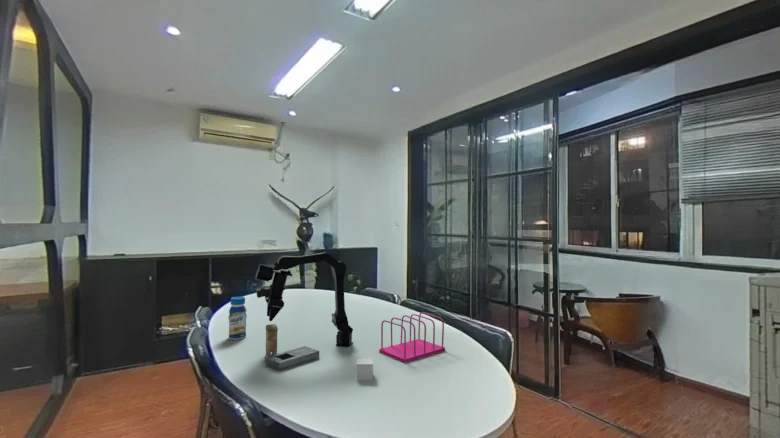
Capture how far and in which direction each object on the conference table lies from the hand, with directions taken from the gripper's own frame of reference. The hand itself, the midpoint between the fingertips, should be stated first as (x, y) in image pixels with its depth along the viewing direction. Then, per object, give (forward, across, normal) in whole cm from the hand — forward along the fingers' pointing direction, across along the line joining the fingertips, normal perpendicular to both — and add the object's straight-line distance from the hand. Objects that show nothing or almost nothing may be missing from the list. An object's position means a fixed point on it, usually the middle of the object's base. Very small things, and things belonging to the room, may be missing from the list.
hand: (269, 318), depth 177 cm
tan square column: (+15, +3, +5) cm, 16 cm away
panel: (+13, +14, +12) cm, 22 cm away
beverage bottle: (+18, -30, -8) cm, 36 cm away
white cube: (+8, +40, +34) cm, 53 cm away
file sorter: (0, +20, +62) cm, 66 cm away
